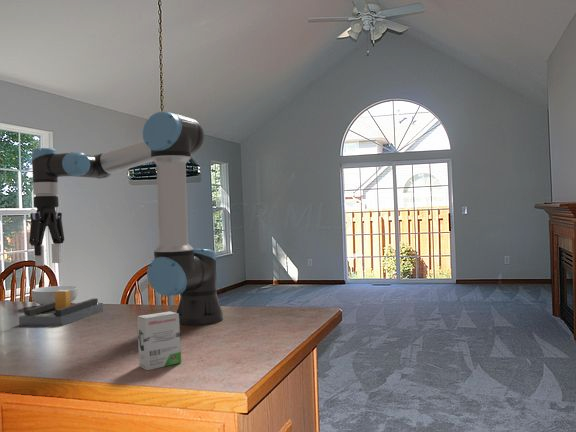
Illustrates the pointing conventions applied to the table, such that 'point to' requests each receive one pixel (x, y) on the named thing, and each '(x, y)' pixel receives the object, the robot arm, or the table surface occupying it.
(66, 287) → the cereal bowl
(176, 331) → the ink box
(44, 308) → the dark grey edge bar
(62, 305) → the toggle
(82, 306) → the long dark grey rail
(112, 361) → the table surface
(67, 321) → the grey slider base
